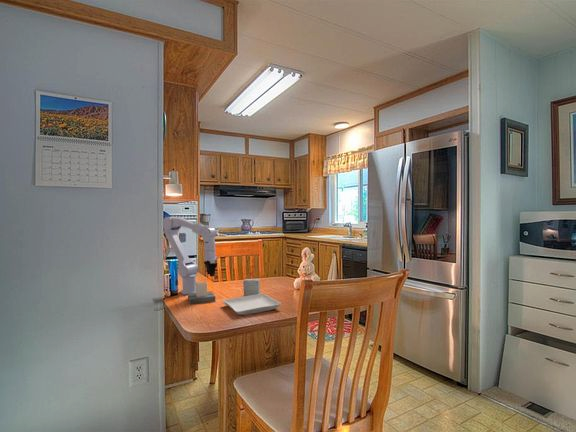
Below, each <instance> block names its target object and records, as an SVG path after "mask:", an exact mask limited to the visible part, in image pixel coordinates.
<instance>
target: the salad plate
mask: <svg viewBox="0 0 576 432" xmlns="http://www.w3.org/2000/svg"><path fill="white" fill-rule="evenodd" d="M222 302H223V303H224V305H226V306H227V307H229V308H230V309H231V310H232V311H234V313H235V314H237V315H238V316H246V315H252V314H256V313H257V314H258V313H262V312H263V313H264V312H268V311H271V310H275V309H277V308H279V307H281V306H282V303H281V302H280V301H278V300H276V299H274V298H272V297H271V296H269V295H267V294H265V293H260V294H257V295H250V296H244V295H243V296H240V297H234V298H228V299H223V300H222Z"/></svg>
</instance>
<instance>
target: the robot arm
mask: <svg viewBox="0 0 576 432" xmlns="http://www.w3.org/2000/svg"><path fill="white" fill-rule="evenodd" d="M162 223H163V226H162V227H163V230H164V235H165V237H166V238H167V241H168V243H169V245H170V247H171V249H172V251H173V253H174V254H175V257H176V259H177V261H178V265H177V269H178V273H179V276H181V278H182V279H181V281H182V289H181V290H180V292H181V294H182V295H184V296H185V295H188V294H192V293H196V283H197V274H198V273H199V266H198V264H197V263H196V262H195V261H194V260H193V259H192V258H190V257H189V255H188V253H187V251H186V249H185V248H184V245H183V244H182V242H181V240H180V237H178V233H179V232H180V229H181V228H182V227H183V228H187V229H190V230H191V232H192V233H194V234H196V235H199V236H201V237H202V240H203V247H204V248H203V249H204V259H203V260H204V261H203V263H204V266H205V268H206V272H207V275H209V276H210V277H215V275H216V274H215V273H216V268H217V266H218V262H215V260H218V259H219V257H217V256H216V238H215V237H217V229H216V228H215V227H213V226H211V227H209V225H205V224H202V222H200V221H199V222H195V223H194V222H192V221H189V220H187V219H185V218H184V217H180V216H166V217H164V218H163V220H162Z"/></svg>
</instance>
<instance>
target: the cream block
mask: <svg viewBox="0 0 576 432" xmlns="http://www.w3.org/2000/svg"><path fill="white" fill-rule="evenodd" d="M207 292H208V284H207V282H206V281H202V282H196V296H197V297H201V296H207Z"/></svg>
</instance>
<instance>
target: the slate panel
mask: <svg viewBox="0 0 576 432" xmlns="http://www.w3.org/2000/svg"><path fill="white" fill-rule="evenodd" d="M187 299H188V302H189V304H190V305H198V304H205V303H206V304H207V303H213V302H216V295H215V294H214V293H213V291H212V290H210V291H207V296H201V297H197V296H196V293H192V294H187Z"/></svg>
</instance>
